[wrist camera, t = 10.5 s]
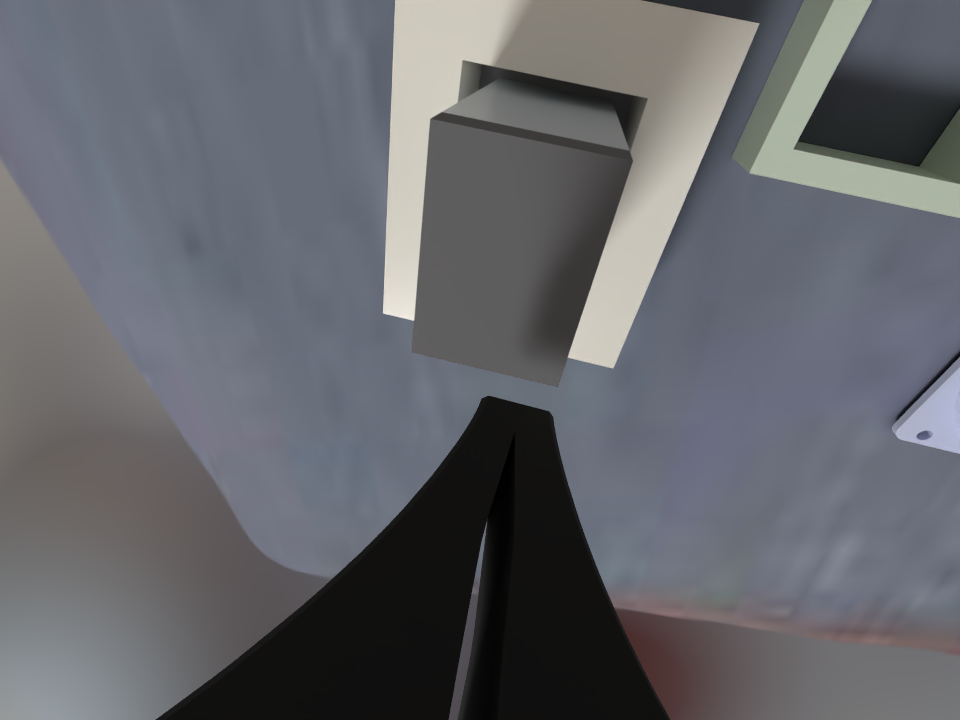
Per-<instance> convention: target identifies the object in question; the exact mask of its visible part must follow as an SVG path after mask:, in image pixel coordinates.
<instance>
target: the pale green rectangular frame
mask: <svg viewBox="0 0 960 720" xmlns="http://www.w3.org/2000/svg"><path fill="white" fill-rule="evenodd" d="M871 1H872V0H804V1H803V3H802V5H801V7H800V10H799V12H798V14H797V16H796V18H795V20H794V23H793V25H792V27H791V29H790V31H789V34H788V36H787V38H786V40H785V42H784V44H783V47H782V49H781V51H780V53H779V55H778V57H777V60H776V62H775V64H774V66H773V68H772V70H771V73H770V75H769V77H768V79H767V81H766V84H765V86H764V88H763V90H762V92H761V94H760V97H759V99H758V101H757V103H756V105H755V107H754V110H753V112H752V114H751V116H750V118H749V121H748V123H747V125H746V127H745V129H744V131H743V134H742V136H741V138H740V140H739V142H738V144H737V147H736V149H735V151H734V153H733V155H732V158H733V159H734V160H735V161H736V162H737V163H739V164H740V165H741V166H742V167H743V168H744V169H745V170H746V171H747V172H749V173H751V174H756V175H761V176H765V177H770V178H775V179H780V180H784V181H789V182H794V183H798V184H803V185H808V186H812V187H817V188H822V189H826V190H831V191H836V192H840V193H845V194H850V195H855V196H859V197H864V198H869V199H873V200H878V201H883V202H887V203H892V204H897V205H901V206H906V207H911V208H915V209H920V210H925V211H929V212H934V213H939V214H944V215H948V216H953V217H958V218H960V109H959V110H958V112H957V113H956V114H955V116H954V117H953V119H952V120H951V122H950V123H949V125H948V126H947V127H946V129H945V130H944V132H943V133H942V135H941V136H940V137H939V139H938V140H937V142H936V143H935V145H934V146H933V147H932V149H931V150H930V152H929V153H928V155H927V156H926V157H925V159H924V160H923V162H922V163H921V165H920V166H919V167H918V166H913V165H908V164H904V163H899V162H894V161H889V160H884V159H880V158H875V157H870V156H865V155H860V154H856V153H851V152H846V151H841V150H836V149H832V148H827V147H822V146H817V145H812V144H808V143H803V142H798V139H799V137H800V135H801V133H802V132H803V130H804V128H805V126H806V124H807V122H808V120H809V118H810V116H811V115H812V113H813V111H814V109H815V107H816V105H817V103H818V101H819V99H820V98H821V96H822V94H823V92H824V90H825V88H826V86H827V84H828V82H829V81H830V79H831V77H832V75H833V73H834V71H835V69H836V67H837V66H838V64H839V62H840V60H841V58H842V56H843V54H844V52H845V50H846V49H847V47H848V45H849V43H850V41H851V39H852V37H853V35H854V33H855V32H856V30H857V28H858V26H859V24H860V22H861V20H862V18H863V16H864V15H865V13H866V11H867V9H868V7H869V5H870V3H871Z"/></svg>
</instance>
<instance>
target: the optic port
mask: <svg viewBox="0 0 960 720" xmlns="http://www.w3.org/2000/svg"><path fill="white" fill-rule="evenodd" d="M759 24H760V23H755V22H749V21H744V20H739V19H734V18H729V17H724V16H719V15H714V14H709V13H704V12H698V11H693V10H688V9H683V8H678V7H673V6H668V5H663V4H658V3H653V2H648V1H642V0H395V23H394V48H393V74H392V99H391V125H390V151H389V176H388V202H387V227H386V253H385V279H384V304H383V313H384V314H388V315H392V316H396V317H401V318H405V319H409V320H413V321H414V316H415V304H416V291H417V278H418V266H419V253H420V241H421V228H422V215H423V203H424V190H425V178H426V165H427V152H428V140H429V127H430V119H431V118H432V117H434V116H436V115H437V114H439V113H441V112H443V111H444V110H446V109H448V108H449V107H451V106H453V105H454V104H456V103H458V102H460V101H461V100H463V99H465V98H466V97H468V96H470V95H471V94H473V93H475V92H477V91H478V90H480V89H482V88H483V87H485V86H487V85H488V84H490V83H492V82H493V81H495V80H497V79H499V78H503V79H508V80H513V81H518V82H523V83H528V84H533V85H538V86H543V87H548V88H553V89H558V90H563V91H568V92H573V93H578V94H583V95H588V96H593V97H598V98H603V99H608V100H612V102H613V105H614V108H615V111H616V113H617V116H618V119H619V122H620V125H621V128H622V130H623V133H624V136H625V139H626V142H627V145H628V148H629V150H630V153H631V156H632V159H633V163H632V166H631V169H630V172H629V175H628V178H627V181H626V184H625V187H624V190H623V193H622V196H621V199H620V202H619V205H618V208H617V211H616V214H615V217H614V220H613V223H612V226H611V229H610V232H609V235H608V238H607V241H606V244H605V247H604V250H603V253H602V256H601V259H600V262H599V265H598V268H597V271H596V274H595V277H594V280H593V283H592V286H591V289H590V292H589V295H588V298H587V301H586V304H585V307H584V310H583V313H582V316H581V319H580V322H579V325H578V328H577V331H576V334H575V337H574V340H573V343H572V346H571V349H570V352H569V355H568V358H572V359H576V360H580V361H584V362H589V363H593V364H597V365H601V366H605V367H609V368H614V365H615V363H616V361H617V358H618V356H619V354H620V351H621V349H622V346H623V344H624V342H625V339H626V337H627V335H628V332H629V330H630V328H631V325H632V323H633V321H634V318H635V316H636V313H637V311H638V309H639V306H640V304H641V302H642V299H643V297H644V295H645V292H646V290H647V288H648V285H649V283H650V280H651V278H652V276H653V273H654V271H655V269H656V266H657V264H658V262H659V259H660V257H661V255H662V252H663V250H664V247H665V245H666V243H667V240H668V238H669V236H670V233H671V231H672V229H673V226H674V224H675V222H676V219H677V217H678V215H679V212H680V210H681V207H682V205H683V203H684V200H685V198H686V196H687V193H688V191H689V189H690V186H691V184H692V182H693V179H694V177H695V174H696V172H697V170H698V167H699V165H700V163H701V160H702V158H703V156H704V153H705V151H706V149H707V146H708V144H709V141H710V139H711V137H712V134H713V132H714V130H715V127H716V125H717V123H718V120H719V118H720V116H721V113H722V111H723V108H724V106H725V104H726V101H727V99H728V97H729V94H730V92H731V90H732V87H733V85H734V83H735V80H736V78H737V75H738V73H739V71H740V68H741V66H742V64H743V61H744V59H745V57H746V54H747V52H748V50H749V47H750V45H751V43H752V40H753V38H754V35H755V33H756V31H757V28H758V26H759Z"/></svg>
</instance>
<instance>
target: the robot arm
mask: <svg viewBox="0 0 960 720" xmlns="http://www.w3.org/2000/svg"><path fill="white" fill-rule="evenodd" d="M892 431H893V432H894V433H895V435H896V436H897V437H898V438H899V439H901V440H905V441H909V442H913V443H917V444H921V445H926V446H930V447H934V448H938V449H942V450H946V451H951V452H955V453H959V454H960V357H959V358H958V359H957V360H956V361H955V362H954V363H953V364H952V365H951V366H950V367H949V368H948V369H947V370H946V371H945V373H944V374H943V375H942V376H941V377H940V378H939V379H938V380H937V381H936V382H935V383H934V384H933V385H932V386H931V387H930V388H929V389H928V390H927V391H926V392H925V393H924V394H923V395H922V396H921V397H920V398H919V399H918V400H917V401H916V402H915V403H914V404H913V405H912V406H911V407H910V408H909V409H908V410H907V411H906V412H905V413H904V414H903V415H902V416H901V417H900V418H899V419H898V420H897V421H896V422H895V424H894V425H893V427H892ZM922 431H923V432H922ZM920 432H921V433H920ZM487 519H488V520H487ZM486 522H487V528H486V536H485V544H484V553H483V561H482V570H481V578H480V587H479V595H478V604H477V612H476V620H475V629H474V636H473V643H472V649H471V656H470V662H469V666H468V671H467V676H466V682H465V686H464V691H463V696H462V701H461V706H460V711H459V716H458V720H670V719H669V717H668V715H667V713H666V711H665V709H664V707H663V705H662V704H661V702H660V700H659V698H658V696H657V694H656V692H655V691H654V689H653V687H652V685H651V683H650V682H649V680H648V678H647V676H646V674H645V672H644V670H643V668H642V666H641V664H640V662H639V660H638V658H637V656H636V654H635V651H634V649H633V647H632V646H631V644H630V641H629V639H628V637H627V635H626V633H625V631H624V629H623V627H622V625H621V622H620V620H619V618H618V616H617V613H616V611H615V609H614V607H613V604H612V602H611V600H610V598H609V595H608V593H607V591H606V588H605V586H604V584H603V581H602V579H601V576H600V574H599V571H598V569H597V566H596V564H595V561H594V559H593V556H592V553H591V551H590V548H589V545H588V543H587V540H586V538H585V535H584V532H583V529H582V526H581V523H580V520H579V518H578V514H577V511H576V508H575V505H574V502H573V498H572V495H571V492H570V489H569V486H568V482H567V479H566V475H565V472H564V468H563V464H562V460H561V456H560V452H559V447H558V443H557V438H556V433H555V427H554V420H553V416H552V415H551V413H550V412H549V411H546V410H542V409H538V408H534V407H530V406H526V405H522V404H519V403H515V402H511V401H507V400H503V399H499V398H496V397H492V396H487V397H484V398H482V399H481V402H480V404H479V407H478V409H477V411H476V413H475V415H474V417H473V418H472V420H471V422H470V423H469V425H468V427H467V428H466V430H465V431H464V433H463V434H462V436H461V437H460V439H459V440H458V442H457V443H456V445H455V446H454V447H453V449H452V450H451V451H450V453H449V454H448V455H447V457H446V458H445V459H444V461H443V462H442V463H441V465H440V466H439V467H438V469H437V470H436V471H435V472H434V474H433V475H432V476H431V477H430V479H429V480H428V481H427V482H426V483H425V484H424V485H423V487H422V488H421V489H420V490H419V491H418V492H417V494H416V495H415V496H414V497H413V498H412V499H411V501H410V502H409V503H408V504H407V505H406V506H405V507H404V509H403V510H402V511H401V512H400V513H399V514H398V515H397V516H396V517H395V518H394V519H393V520H392V521H391V523H390V524H389V525H388V526H387V527H386V528H385V529H384V530H383V531H382V532H381V533H380V534H379V535H378V536H377V537H376V538H375V539H374V540H373V541H372V542H371V543H370V544H369V545H368V546H367V547H366V548H365V549H364V550H363V551H362V552H361V553H360V554H359V555H358V556H357V557H355V558H354V559H353V560H352V561H351V562H350V563H349V564H348V565H347V566H346V567H345V568H344V569H343V570H341V571H340V572H339V573H338V574H337V575H336V576H335V577H334V578H333V579H332V580H331V581H330V582H328V583H327V584H326V585H325V586H324V587H323V588H322V589H321V590H320V591H318V592H317V593H316V594H315V595H314V596H313V597H312V598H311V599H309V600H308V601H307V602H306V603H305V604H304V605H302V606H301V607H300V608H299V609H298V610H296V611H295V612H294V613H293V614H292V615H290V616H289V617H288V618H287V619H285V620H284V621H283V622H282V623H280V624H279V625H278V626H277V627H276V628H274V629H273V630H272V631H271V632H269V633H268V634H267V635H266V636H265V637H263V638H262V639H261V640H260V641H258V642H257V643H256V644H255V645H254V646H252V647H251V648H250V649H249V650H247V651H246V652H245V653H244V654H242V655H241V656H240V657H239V658H238V659H236V660H235V661H234V662H233V663H231V664H230V665H229V666H227V667H226V668H225V669H223V670H222V671H221V672H220V673H218V674H217V675H216V676H214V677H213V678H212V679H210V680H209V681H208V682H206V683H205V684H203V685H202V686H201V687H200V688H198V689H197V690H195V691H194V692H193V693H191V694H190V695H189V696H187V697H186V698H185V699H183V700H182V701H181V702H179V703H178V704H177V705H175V706H174V707H172V708H171V709H170V710H168V711H167V712H166V713H164V714H163V715H162V716H160V717H159V718H157V719H156V720H448V719H449V714H450V708H451V703H452V697H453V691H454V686H455V680H456V674H457V669H458V663H459V658H460V652H461V647H462V642H463V636H464V631H465V625H466V620H467V614H468V609H469V604H470V599H471V593H472V588H473V583H474V578H475V572H476V567H477V562H478V557H479V551H480V546H481V541H482V537H483V534H484V530H485V526H486Z"/></svg>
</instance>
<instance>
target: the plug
mask: <svg viewBox="0 0 960 720" xmlns="http://www.w3.org/2000/svg"><path fill="white" fill-rule="evenodd" d="M632 163H633V159H632V156H631V153H630V150H629V148H628V145H627V142H626V139H625V136H624V133H623V130H622V128H621V125H620V122H619V119H618V116H617V113H616V111H615V108H614V105H613V102H612V100H608V99H603V98H598V97H593V96H588V95H583V94H578V93H573V92H568V91H563V90H558V89H553V88H548V87H543V86H538V85H533V84H528V83H523V82H518V81H513V80H508V79H503V78H499V79H497V80H495V81H493V82H492V83H490V84H488V85H487V86H485V87H483V88H482V89H480V90H478V91H477V92H475V93H473V94H471V95H470V96H468V97H466V98H465V99H463V100H461V101H460V102H458V103H456V104H454V105H453V106H451V107H449V108H448V109H446V110H444V111H443V112H441V113H439V114H437V115H436V116H434V117H432V118H431V119H430V127H429V140H428V152H427V165H426V178H425V190H424V203H423V215H422V228H421V241H420V253H419V266H418V278H417V291H416V304H415V316H414V329H413V341H412V352H413V353H417V354H421V355H425V356H429V357H434V358H438V359H442V360H446V361H451V362H455V363H459V364H463V365H467V366H472V367H476V368H480V369H484V370H488V371H493V372H497V373H501V374H505V375H509V376H514V377H518V378H522V379H526V380H530V381H535V382H539V383H543V384H547V385H552V386H556V387H558V385H559V382H560V379H561V376H562V373H563V370H564V367H565V364H566V361H567V358H568V355H569V352H570V349H571V346H572V343H573V340H574V337H575V334H576V331H577V328H578V325H579V322H580V319H581V316H582V313H583V310H584V307H585V304H586V301H587V298H588V295H589V292H590V289H591V286H592V283H593V280H594V277H595V274H596V271H597V268H598V265H599V262H600V259H601V256H602V253H603V250H604V247H605V244H606V241H607V238H608V235H609V232H610V229H611V226H612V223H613V220H614V217H615V214H616V211H617V208H618V205H619V202H620V199H621V196H622V193H623V190H624V187H625V184H626V181H627V178H628V175H629V172H630V169H631V166H632Z"/></svg>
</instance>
